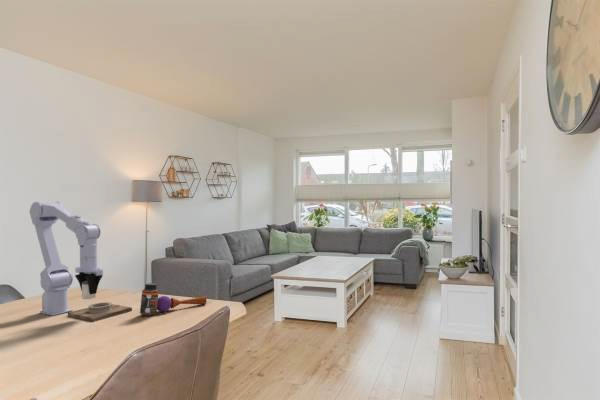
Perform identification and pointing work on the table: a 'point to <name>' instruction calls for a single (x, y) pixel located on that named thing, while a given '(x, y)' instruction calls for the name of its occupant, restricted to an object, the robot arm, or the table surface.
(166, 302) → the kendama
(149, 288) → the supplement bottle
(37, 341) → the table surface
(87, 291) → the plug
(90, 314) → the board with ring socket
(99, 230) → the robot arm
